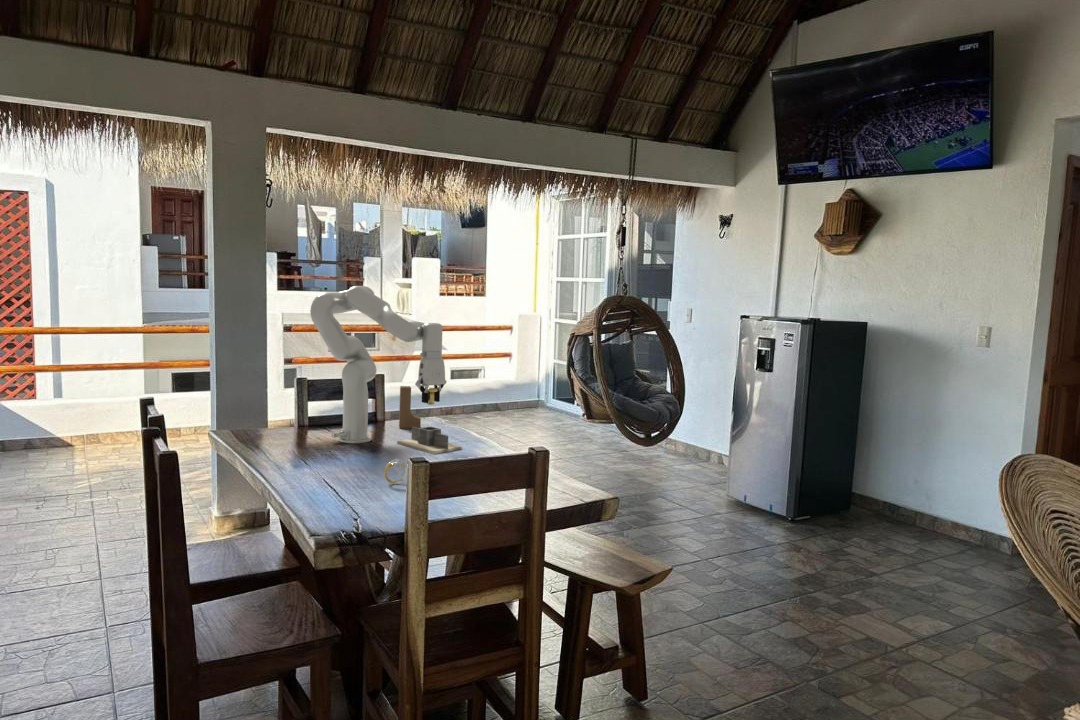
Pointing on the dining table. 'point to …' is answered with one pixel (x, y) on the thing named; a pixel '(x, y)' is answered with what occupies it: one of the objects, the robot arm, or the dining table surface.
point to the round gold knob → (431, 395)
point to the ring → (391, 466)
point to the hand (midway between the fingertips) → (430, 401)
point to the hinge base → (429, 441)
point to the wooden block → (407, 410)
